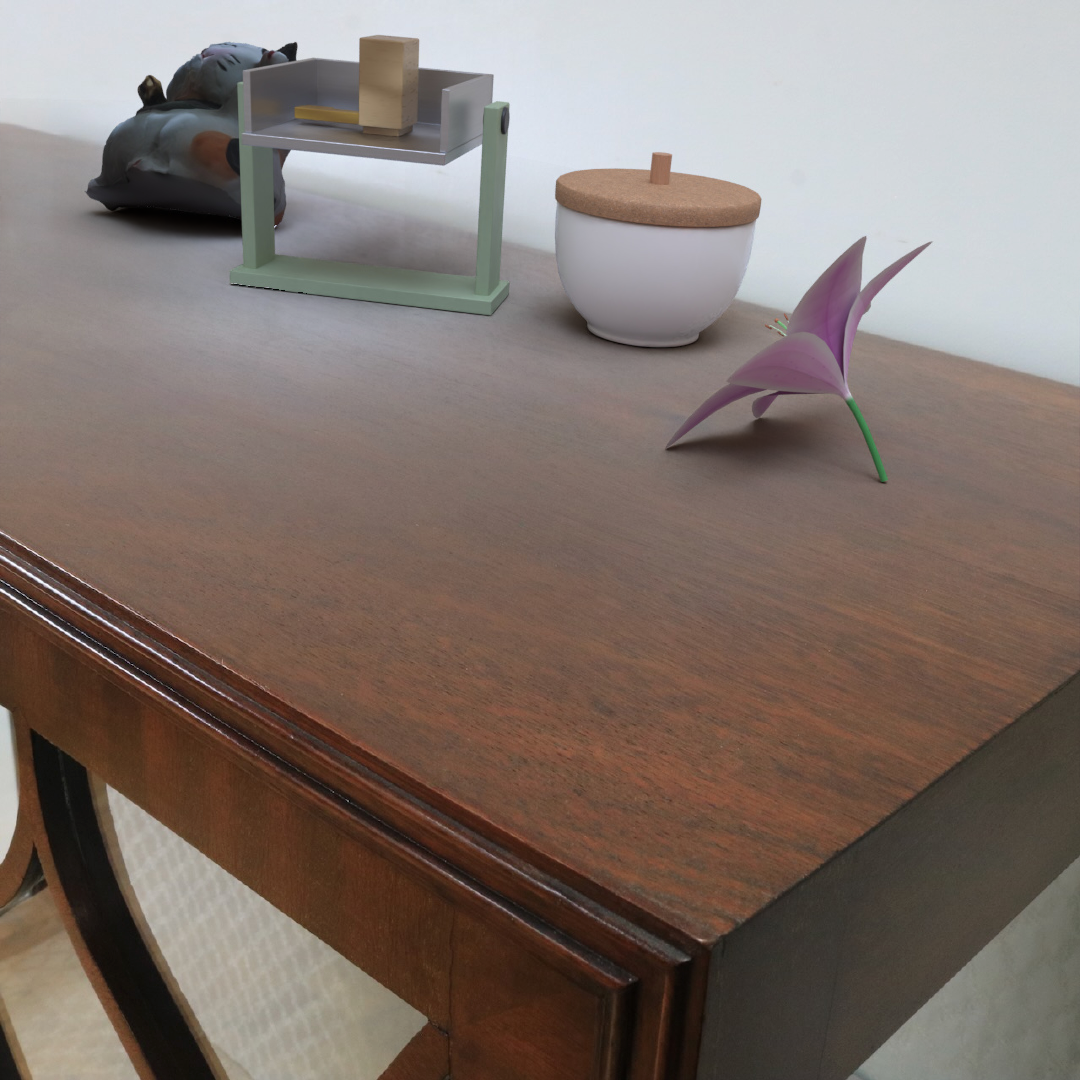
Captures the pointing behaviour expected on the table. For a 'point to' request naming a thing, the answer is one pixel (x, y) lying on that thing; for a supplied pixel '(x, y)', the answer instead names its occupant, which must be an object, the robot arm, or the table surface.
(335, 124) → the shallow metal tray
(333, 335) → the table surface
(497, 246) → the bracket
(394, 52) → the tan blocky wooden piece
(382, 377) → the table surface
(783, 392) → the lily
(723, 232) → the trinket box
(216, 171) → the lucky cat figurine
